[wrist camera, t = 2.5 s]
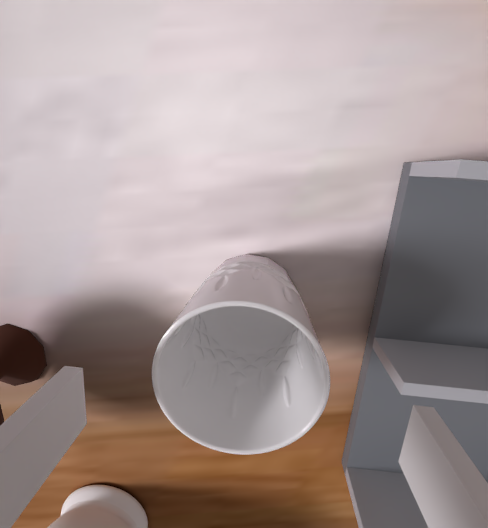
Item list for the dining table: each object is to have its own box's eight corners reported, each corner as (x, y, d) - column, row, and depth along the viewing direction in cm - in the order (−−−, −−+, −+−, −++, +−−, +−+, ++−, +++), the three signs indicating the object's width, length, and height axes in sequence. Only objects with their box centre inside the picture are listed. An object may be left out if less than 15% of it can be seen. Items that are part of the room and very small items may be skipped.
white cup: (192, 335, 25) (145, 439, 15) (203, 237, 23) (157, 286, 13) (292, 352, 25) (309, 468, 15) (314, 255, 22) (350, 318, 13)
